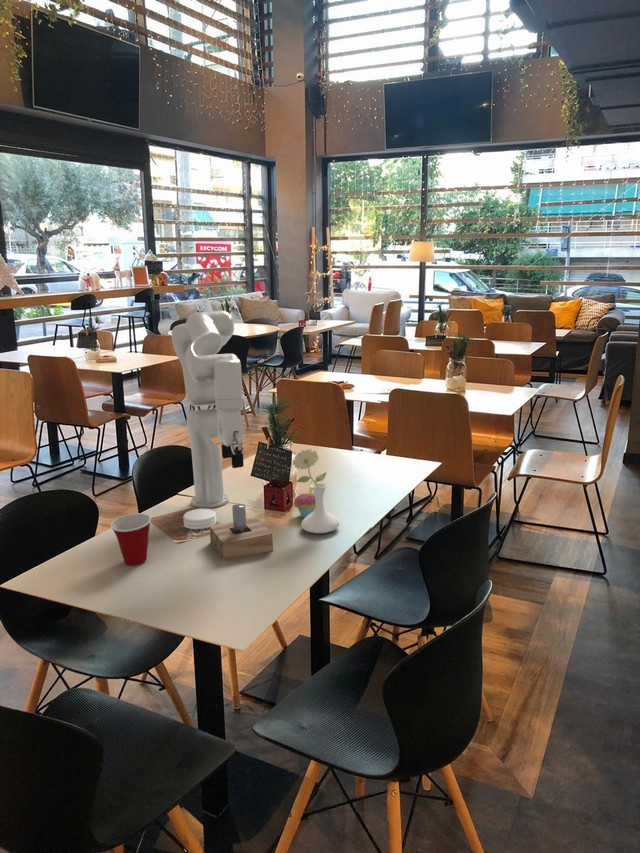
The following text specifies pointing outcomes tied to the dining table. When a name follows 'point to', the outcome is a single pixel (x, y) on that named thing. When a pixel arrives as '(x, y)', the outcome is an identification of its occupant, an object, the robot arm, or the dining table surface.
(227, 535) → the socket block
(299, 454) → the flower in vase
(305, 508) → the cupcake
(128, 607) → the dining table surface
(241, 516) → the steel pin
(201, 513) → the white round disc stack
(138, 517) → the plastic cup
